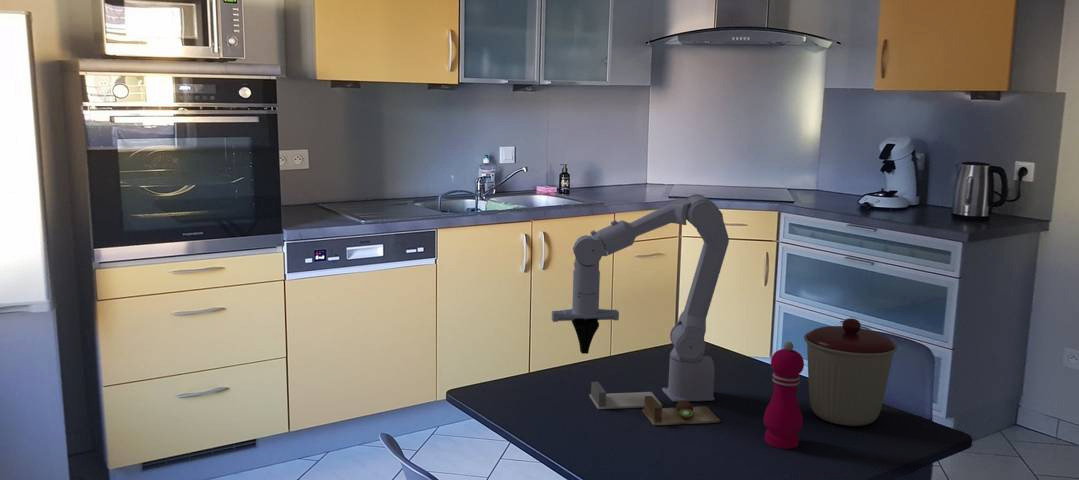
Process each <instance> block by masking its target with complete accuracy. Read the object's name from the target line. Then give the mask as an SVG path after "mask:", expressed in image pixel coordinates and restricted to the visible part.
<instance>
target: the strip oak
mask: <svg viewBox="0 0 1079 480" xmlns="http://www.w3.org/2000/svg"><path fill="white" fill-rule="evenodd" d="M641 411H642V412H643V414H644V416H646V417H647V419H648V420H649V421H650V423H651V424H652V425H653V426H670V425H671V426H672V425H673V426H674V425H690V424H691V425H694V424H713V423H715V424H716V423H718V424H719V423H721V419H720V418H719V417H717V416H716V414H715V413H713V411H712V410H711V409H710V408H709V407H708V406H693V412H694V416H693V418H691V419H684V418H682V417H680V415H679V414H678V410H677V409H676V407H663V406H662V407H661V406H660V405H659V404H658V403H657V401H656V400H655V399H654V398H653V397H652V396H645V403H644V407H643V408H642V409H641Z"/></svg>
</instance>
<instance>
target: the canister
mask: <svg viewBox="0 0 1079 480" xmlns="http://www.w3.org/2000/svg"><path fill="white" fill-rule="evenodd" d="M803 339H804V341H805V342H806V348H807V349H806V352H807V378H808V379H807V380H808V393H809V395H808V396H809V404H810V408H811V410H812V412H813V413H814V414H815V415H816V416H817V417H818V418H820V419H821V420H823V421H826V422H829V423H832V424H835V425H841V426H849V427H857V426H859V427H861V426H865V425H866V426H867V425H869V424H872V423H873V422H875V421H876V420H877V419H878V417H879V416H880V413H881V410H882V408H883V407H882V406H883V402H884V398H885V395H886V389H887V386H888V381H889V376H890V372H891V368H892V364H893V363H892V362H893V357H894V353H896V352H897V351H898V348H899V347H898V344H897V343H896V342H895V341H893V340H892V339H891V338H890V337H888V336H887V335H885V334H883V333H880V332H878V331H876V330H875V331H874V330H871V329H868V328H862V325H861V322H860V321H859V320H858V319H856V318H852V317H850V318H846V319H844V320H843V322H842V325H829V326H828V325H827V326H821V327H817V328H815V329H813V330H811V331H809V332H806V333H805V334H804V336H803Z"/></svg>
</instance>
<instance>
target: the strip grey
mask: <svg viewBox="0 0 1079 480" xmlns="http://www.w3.org/2000/svg"><path fill="white" fill-rule="evenodd" d="M590 384H591V385H590V387H591V388H590V394H588V395H589V398H590V400H591V401H592V402H593V404H594V406H595V407H596V408H597V410H609V409H614V410H615V409H636V408H644V403H645V396H652V397H653V398H654V399H655V400H656V401H657V403H658V404H659V405H660V406H661V407H662V408H663V404H662V402H661V401H660V400H659V399H658V398H657V397H656V396H655V394H654V393H653V392H652V391H644V392H643V391H638V392H615V393H612V392H611V393H607V391H606V390H605V389H604V387H603V386H602V385H601V384H600V382H599V381H591V383H590Z"/></svg>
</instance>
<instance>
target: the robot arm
mask: <svg viewBox="0 0 1079 480" xmlns="http://www.w3.org/2000/svg"><path fill="white" fill-rule="evenodd" d="M687 222H689V224H691V225H692V226H693V227H694V228H695V229H696V231H697V233H698V234H699V236H700V237H701V239H702V241H703V245H702V246H701V247H702V248H701V251H700V255H699V258H698V262H697V265H696V268H695V273H694V274H693V275H694V276H693V278H692V282H691V285H690V288H689V292H688V295H687V299H686V302H685V306H684V309H683V311H682V312H681V314H680V315H679V317H678V321H677V322H676V323H675V325H674V326H673V327H672V328H671V330H670V332H669V339H670V341H671V344H672V345H673V348H672V350H671V351H670V352H669V366H668V367H669V368H668V369H669V370H668V386H667V387H662V388H661V391H662V392H663V393H664V394H665V395H666V396H667V398H669V400H670V401H672V403H678V402H680V401H687V402H704V401H705V402H706V401H708V402H709V401H711V402H712V401H715V397H714V387H715V373H716V371H715V363H714V360H713V358H712V357H711V356H709V355H704V353H705V350H706V342H705V335H706V332H707V331H706V330H707V316H708V314H709V309H710V306H711V303H712V299H713V298H714V297H713V296H714V293H715V289H716V286H717V283H718V280H719V276H720V274H721V269H722V267H723V263H724V260H725V256H726V253H727V249H728V247H729V243H730V237H729V235H728V231H727V227H726V225H725V221H724V214H723V212H722V211H721V209H719V208H718V206H717V204H715V203H714V202H713V201H712V200H710V199H708V198H707V197H706V196H704V195H702V194H698V193H697V194H691V195H689V196H688V197H686V198H680V199H677V200H675V201H672V202H671V203H668V204H666V205H664V206H662V207H659V208H658V209H656V210H654V211H652V212H650V213H648V214H646V215H644V216H642V217H639V218H638V219H636V220H633V221H631V222H628V221H625V220H619V221H617V220H616V219H614V220H612V221H611V222H610V225H608V226H606V227H603V228H602V229H599V230H597V231H595V230H594V229H593V230H591V231H590V232H589V233H590V234H589V235H587V234H585V235H580V236H579V237H578V238H577V239H576V241H575V242H574V244H573V247H572V250H573V255H574V257H575V258H574V262H573V268H574V269H573V272H572V273H573V274H572V275H573V279H572V306H571V307H572V308H571V309H570V308H569V309H562V310H551V321H552V322H553V323H556V322H557V323H558V322H567V321H568V322H569V321H571V323H572V325H573V328H574V330H575V333H576V335H577V339H578V346H579V352H580V353H581V354H583V355H585V354H589V351H590V347H591V343H592V341H593V338H594V336H595V334H596V332H597V331H598V329H599V327H600V322H599V321H602V320H605V321H606V320H607V321H608V320H609V321H611V320H613V321H619V320H620V319H619V318H620V311H619V310H617V309H606V308H605V309H604V308H600V305H599V304H600V284H601V283H600V281H601V271H600V261H601V259H602V257H608V256H610V255H614V253H617V252H619V251H622V250H624V249H626V248H628V247H630V246H632V245H634V243H635V241H636V238H637V237H638V236H642V235H644V234H646V233H650V232H651V231H655V230H656V229H659V228H662V227H664V226H667V225H669V224H677V225H682V226H687V224H688V223H687Z"/></svg>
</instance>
